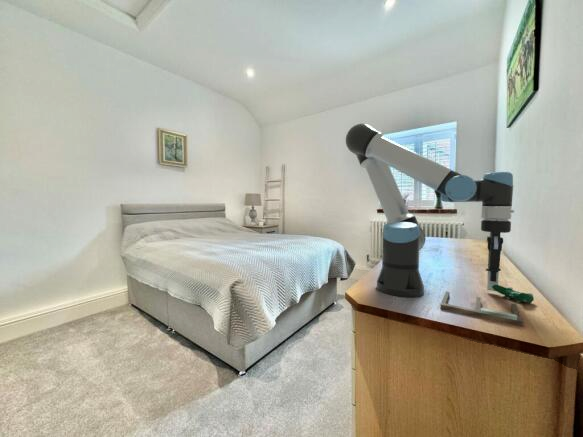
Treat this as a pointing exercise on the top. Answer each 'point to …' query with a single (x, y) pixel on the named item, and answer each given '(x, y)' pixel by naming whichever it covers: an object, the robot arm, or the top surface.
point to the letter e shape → (485, 312)
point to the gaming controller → (514, 294)
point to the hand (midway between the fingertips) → (492, 290)
